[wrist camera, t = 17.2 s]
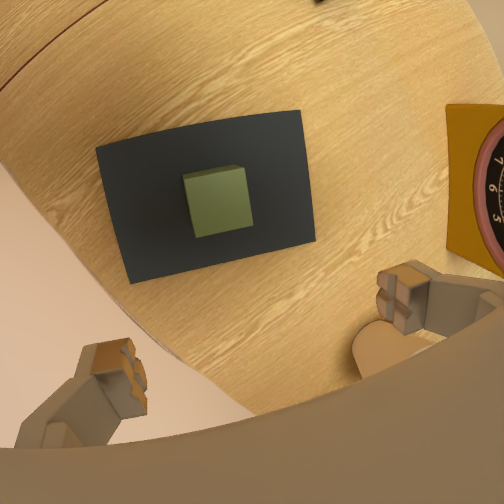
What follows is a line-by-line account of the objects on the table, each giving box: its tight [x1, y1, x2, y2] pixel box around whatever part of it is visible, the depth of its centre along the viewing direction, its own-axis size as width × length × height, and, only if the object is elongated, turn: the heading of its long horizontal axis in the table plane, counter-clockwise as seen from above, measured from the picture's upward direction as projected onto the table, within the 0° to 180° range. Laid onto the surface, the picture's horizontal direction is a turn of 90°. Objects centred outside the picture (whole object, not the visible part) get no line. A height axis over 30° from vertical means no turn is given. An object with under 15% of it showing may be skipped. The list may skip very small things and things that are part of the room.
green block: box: [182, 164, 253, 238], centre depth 28 cm, size 5×5×4 cm
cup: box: [352, 320, 437, 379], centre depth 36 cm, size 12×12×14 cm
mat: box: [96, 110, 316, 284], centre depth 31 cm, size 20×14×1 cm
